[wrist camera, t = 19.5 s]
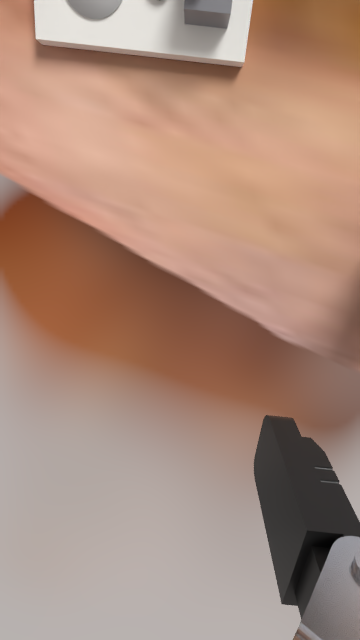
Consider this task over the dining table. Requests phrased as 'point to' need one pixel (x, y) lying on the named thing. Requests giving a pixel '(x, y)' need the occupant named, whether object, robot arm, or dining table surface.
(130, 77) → the dining table surface
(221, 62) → the panel
